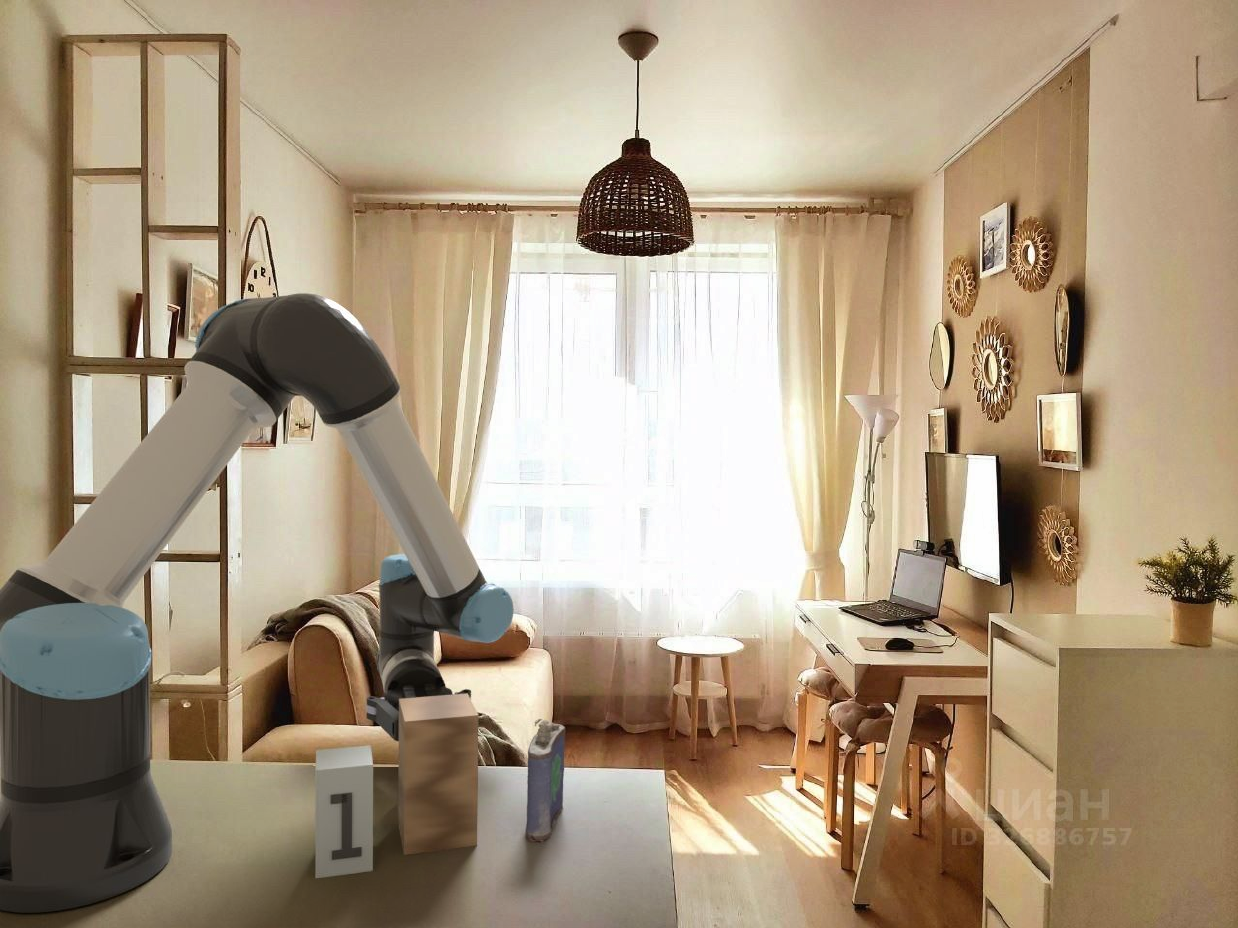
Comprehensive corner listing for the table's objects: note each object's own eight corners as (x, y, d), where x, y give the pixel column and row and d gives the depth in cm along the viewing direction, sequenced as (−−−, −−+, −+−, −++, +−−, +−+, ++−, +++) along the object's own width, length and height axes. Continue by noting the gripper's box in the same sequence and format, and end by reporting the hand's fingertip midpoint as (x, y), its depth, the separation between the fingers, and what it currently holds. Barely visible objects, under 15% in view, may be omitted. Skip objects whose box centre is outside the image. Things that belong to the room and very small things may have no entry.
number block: (315, 879, 81) (315, 771, 81) (316, 852, 86) (316, 750, 86) (372, 871, 83) (373, 765, 82) (370, 845, 88) (370, 745, 87)
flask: (547, 843, 89) (548, 736, 88) (518, 841, 89) (519, 734, 89) (566, 803, 98) (567, 707, 97) (540, 801, 98) (541, 705, 98)
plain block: (404, 854, 86) (404, 721, 85) (398, 822, 93) (398, 698, 92) (477, 844, 88) (478, 714, 87) (466, 814, 95) (467, 693, 94)
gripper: (463, 709, 120) (496, 779, 98) (361, 718, 116) (372, 792, 93) (463, 654, 119) (497, 711, 97) (361, 661, 115) (372, 722, 93)
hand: (435, 751), depth 95 cm, fingers closed
